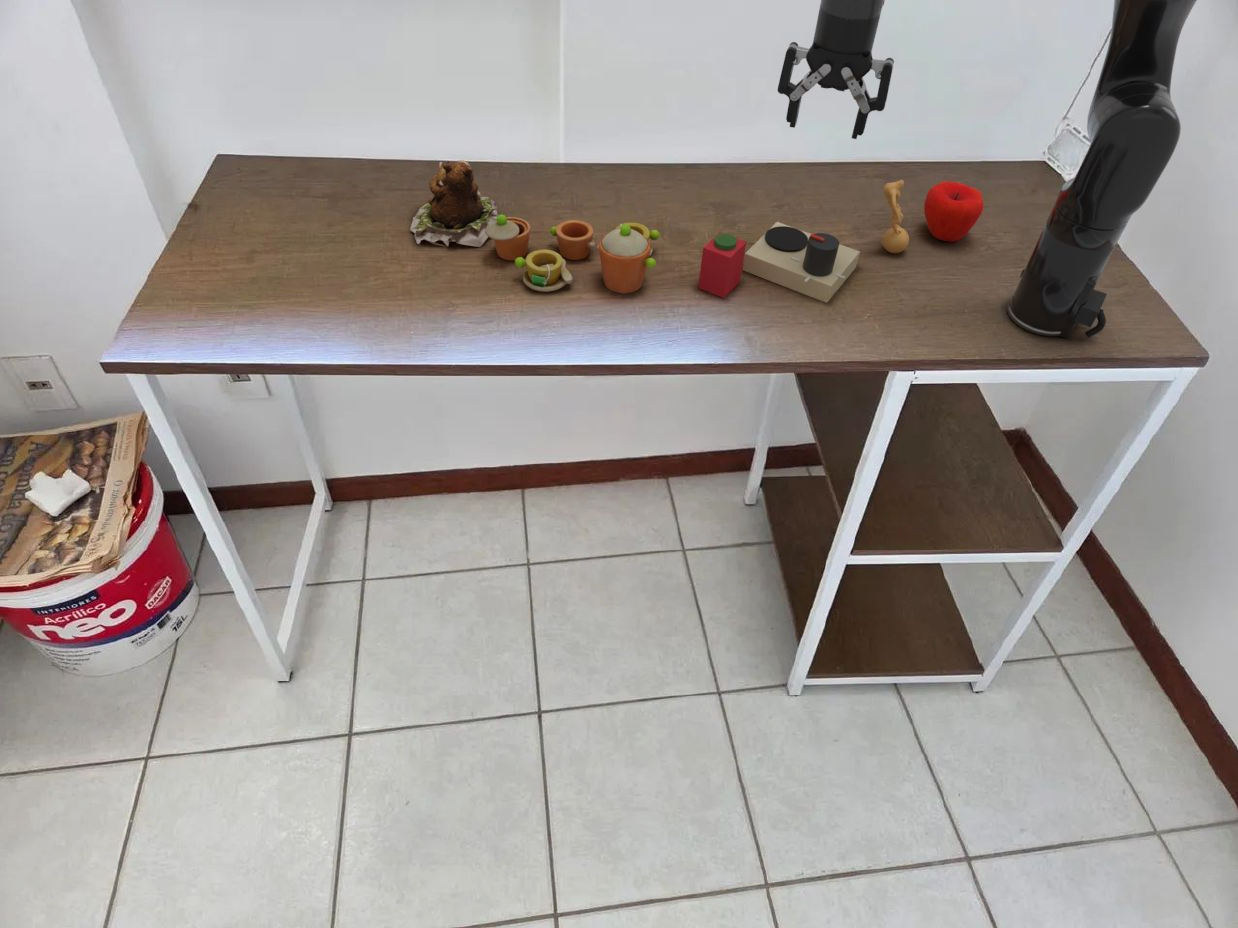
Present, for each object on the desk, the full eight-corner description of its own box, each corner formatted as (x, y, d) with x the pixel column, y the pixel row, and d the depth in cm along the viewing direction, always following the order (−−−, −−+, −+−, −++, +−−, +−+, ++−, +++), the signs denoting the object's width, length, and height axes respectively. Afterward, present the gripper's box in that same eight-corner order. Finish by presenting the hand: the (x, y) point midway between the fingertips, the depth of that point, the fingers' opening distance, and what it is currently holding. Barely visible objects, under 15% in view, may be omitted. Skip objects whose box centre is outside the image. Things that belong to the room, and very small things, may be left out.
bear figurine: (507, 202, 143) (503, 130, 134) (489, 253, 133) (483, 179, 124) (425, 194, 144) (416, 123, 135) (401, 244, 133) (389, 171, 125)
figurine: (908, 267, 135) (932, 196, 126) (869, 264, 135) (890, 193, 126) (901, 237, 141) (922, 168, 132) (863, 234, 141) (883, 165, 132)
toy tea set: (656, 239, 137) (660, 183, 130) (664, 298, 127) (669, 241, 120) (489, 237, 136) (484, 180, 129) (483, 297, 125) (478, 239, 118)
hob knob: (837, 266, 129) (844, 237, 125) (825, 280, 126) (832, 251, 123) (810, 256, 130) (816, 227, 127) (797, 269, 128) (804, 241, 124)
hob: (860, 270, 134) (865, 252, 132) (828, 309, 127) (833, 291, 124) (773, 238, 139) (777, 220, 137) (737, 274, 132) (740, 256, 129)
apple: (905, 224, 143) (918, 180, 138) (951, 217, 146) (966, 173, 140) (934, 254, 138) (950, 209, 132) (981, 246, 140) (999, 202, 134)
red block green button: (739, 282, 130) (747, 237, 125) (723, 298, 127) (731, 252, 122) (713, 272, 132) (720, 226, 126) (697, 288, 129) (703, 242, 123)
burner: (814, 237, 134) (815, 235, 134) (796, 257, 130) (797, 255, 130) (776, 223, 136) (776, 221, 136) (757, 242, 132) (757, 240, 132)
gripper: (789, 7, 107) (767, 133, 119) (906, 25, 104) (872, 152, 116) (799, -13, 112) (777, 110, 124) (911, 4, 109) (878, 128, 121)
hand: (823, 131), depth 120 cm, fingers open, 8 cm apart
